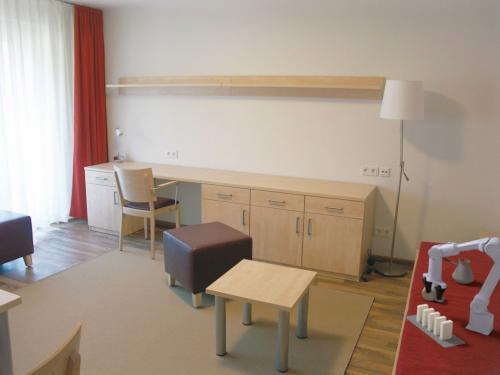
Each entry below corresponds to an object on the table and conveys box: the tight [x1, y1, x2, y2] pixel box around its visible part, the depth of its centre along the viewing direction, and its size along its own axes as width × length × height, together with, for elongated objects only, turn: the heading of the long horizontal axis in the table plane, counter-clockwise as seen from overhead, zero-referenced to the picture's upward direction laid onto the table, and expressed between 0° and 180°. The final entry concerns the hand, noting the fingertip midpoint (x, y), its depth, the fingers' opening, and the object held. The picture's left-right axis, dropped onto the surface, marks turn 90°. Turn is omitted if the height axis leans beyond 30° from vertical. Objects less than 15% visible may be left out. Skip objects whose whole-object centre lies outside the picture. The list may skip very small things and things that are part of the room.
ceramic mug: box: [421, 283, 445, 303], centre depth 229 cm, size 11×8×8 cm
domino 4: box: [433, 315, 447, 335], centre depth 195 cm, size 2×5×8 cm, turn 106°
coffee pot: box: [442, 257, 475, 285], centre depth 250 cm, size 21×12×15 cm, turn 72°
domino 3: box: [428, 311, 441, 331], centre depth 199 cm, size 2×5×8 cm, turn 106°
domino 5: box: [440, 319, 454, 340], centre depth 191 cm, size 2×5×8 cm, turn 106°
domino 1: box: [416, 303, 429, 322], centre depth 207 cm, size 2×5×8 cm, turn 106°
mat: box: [404, 314, 466, 349], centre depth 200 cm, size 28×11×1 cm, turn 16°
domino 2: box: [422, 307, 435, 327], centre depth 203 cm, size 2×5×8 cm, turn 106°
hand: (433, 296), depth 211 cm, fingers open, 7 cm apart
